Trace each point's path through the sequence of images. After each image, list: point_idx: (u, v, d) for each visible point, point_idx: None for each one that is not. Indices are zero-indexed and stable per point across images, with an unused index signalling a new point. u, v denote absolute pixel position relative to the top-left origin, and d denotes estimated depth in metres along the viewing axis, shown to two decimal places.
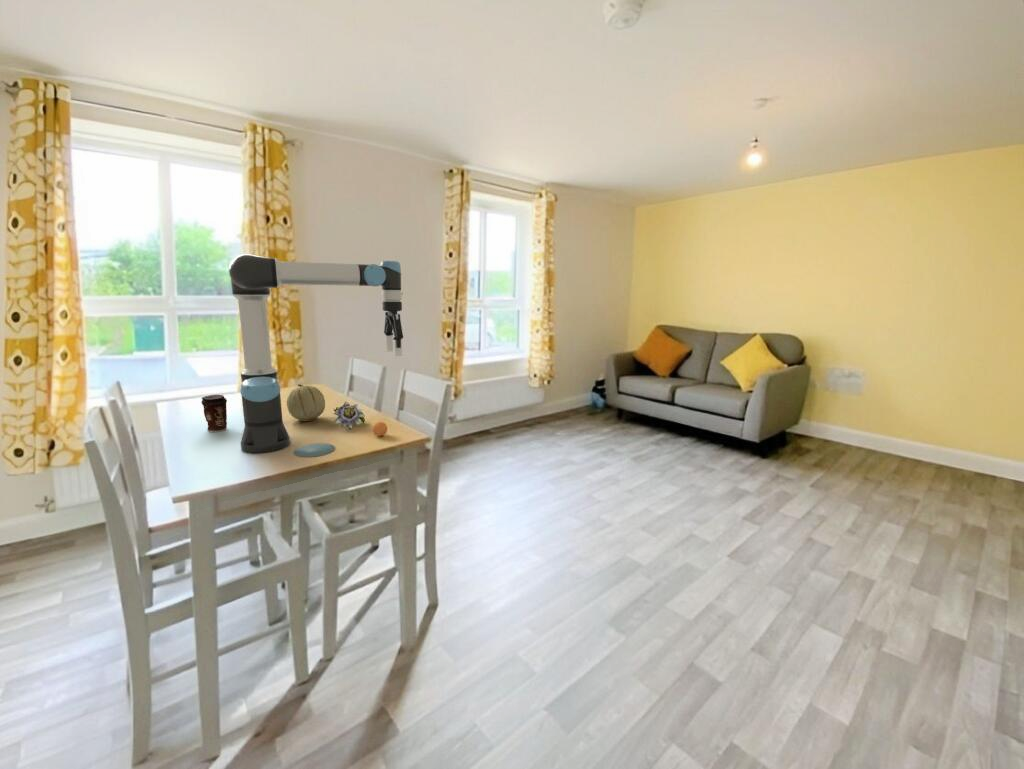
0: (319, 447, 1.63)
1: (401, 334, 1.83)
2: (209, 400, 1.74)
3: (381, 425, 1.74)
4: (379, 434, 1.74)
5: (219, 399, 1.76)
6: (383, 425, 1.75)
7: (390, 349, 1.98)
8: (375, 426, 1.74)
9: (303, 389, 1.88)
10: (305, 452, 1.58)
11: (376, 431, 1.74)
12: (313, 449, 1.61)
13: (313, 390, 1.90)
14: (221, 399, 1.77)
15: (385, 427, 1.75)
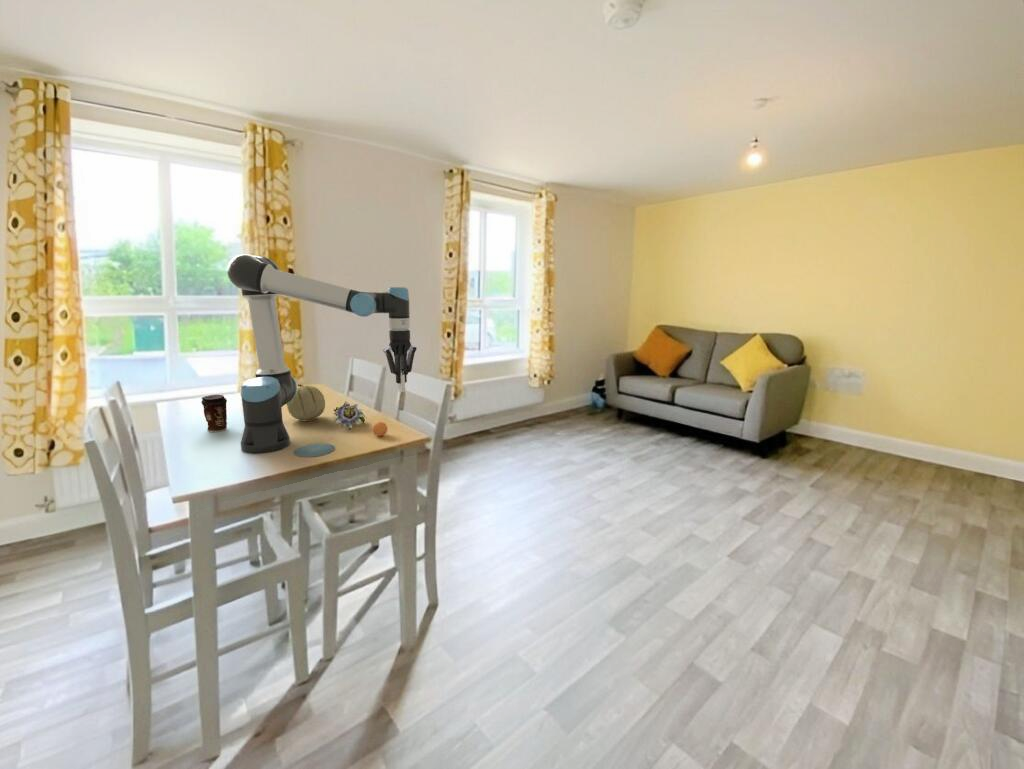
0: (319, 447, 1.63)
1: (392, 370, 1.75)
2: (209, 400, 1.74)
3: (381, 425, 1.74)
4: (379, 434, 1.74)
5: (219, 399, 1.76)
6: (383, 425, 1.75)
7: None
8: (375, 426, 1.74)
9: (303, 389, 1.88)
10: (305, 452, 1.58)
11: (376, 431, 1.74)
12: (313, 449, 1.61)
13: (313, 390, 1.90)
14: (221, 399, 1.77)
15: (385, 427, 1.75)
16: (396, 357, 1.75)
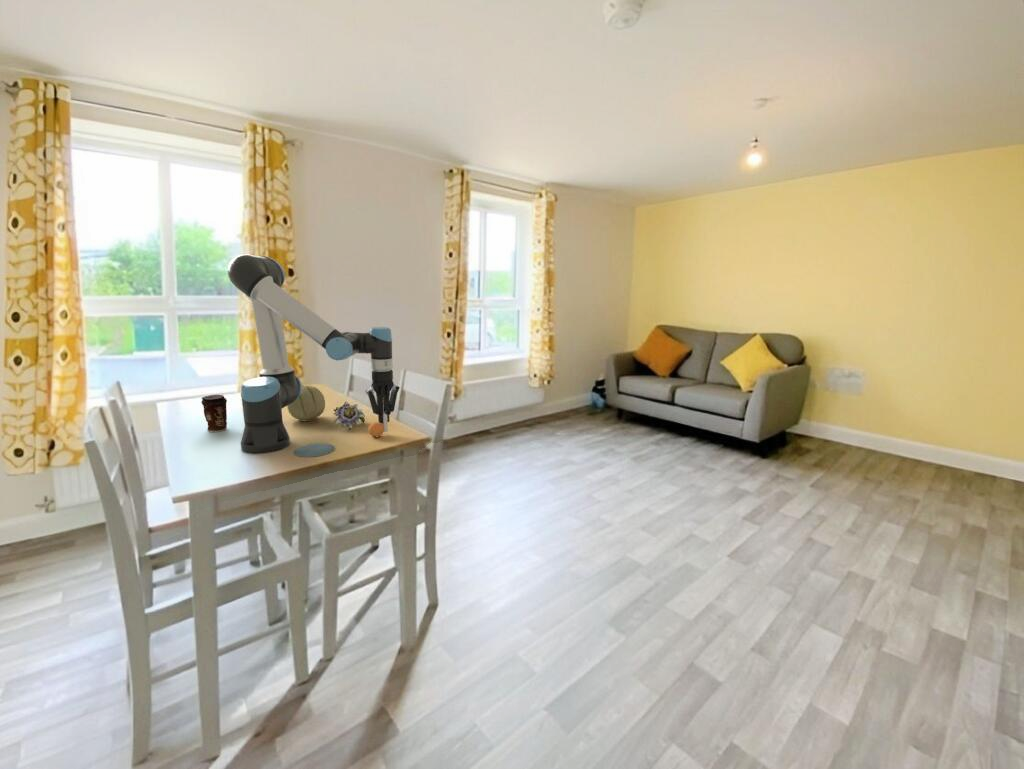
0: (319, 447, 1.63)
1: (375, 411, 1.73)
2: (209, 400, 1.74)
3: (376, 427, 1.73)
4: (377, 435, 1.74)
5: (219, 399, 1.76)
6: (378, 426, 1.73)
7: None
8: (370, 429, 1.73)
9: (303, 389, 1.88)
10: (305, 452, 1.58)
11: (372, 434, 1.73)
12: (313, 449, 1.61)
13: (313, 390, 1.90)
14: (221, 399, 1.77)
15: (381, 427, 1.74)
16: (378, 397, 1.74)
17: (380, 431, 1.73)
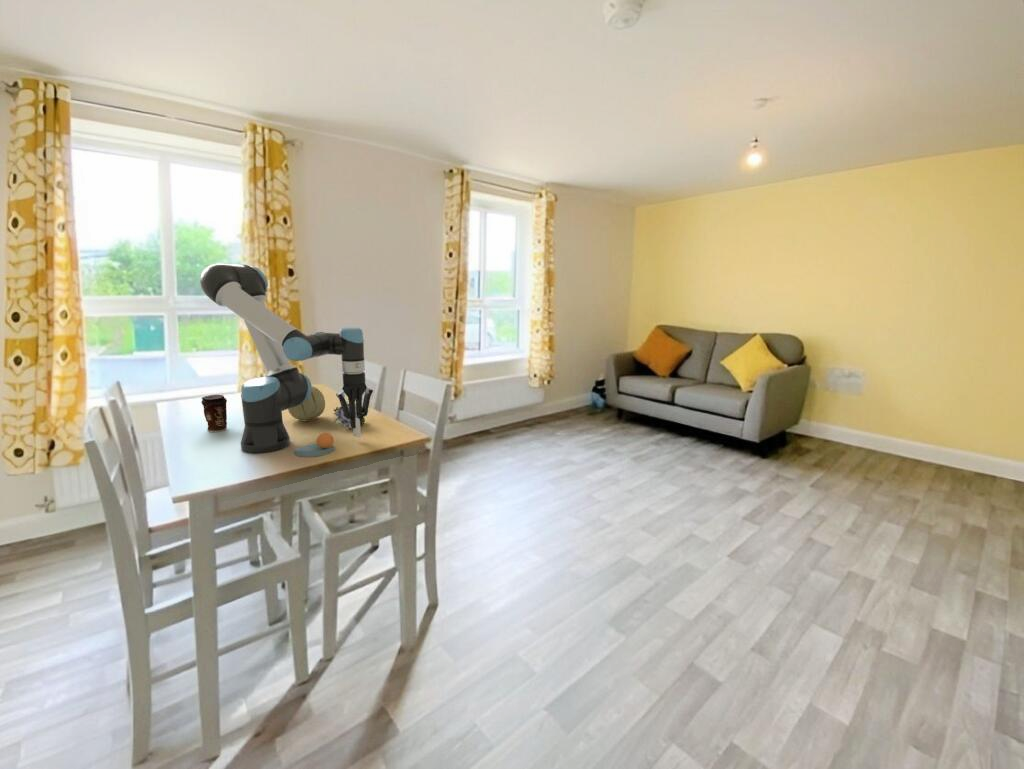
0: (319, 447, 1.63)
1: (346, 415, 1.66)
2: (209, 400, 1.74)
3: (324, 438, 1.60)
4: (325, 447, 1.61)
5: (219, 399, 1.76)
6: (327, 437, 1.61)
7: None
8: (318, 440, 1.60)
9: None
10: (305, 452, 1.58)
11: (320, 445, 1.60)
12: (313, 449, 1.61)
13: (313, 390, 1.90)
14: (221, 399, 1.77)
15: (329, 438, 1.61)
16: (350, 401, 1.66)
17: (329, 442, 1.61)
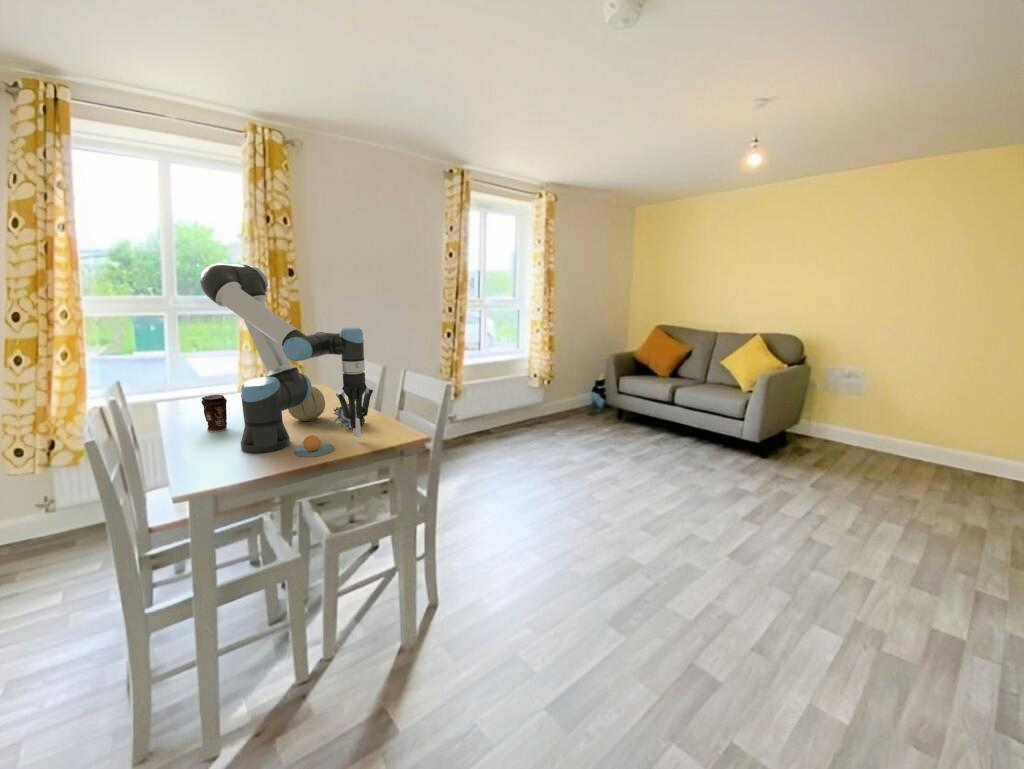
0: (319, 447, 1.63)
1: (346, 415, 1.66)
2: (209, 400, 1.74)
3: (309, 449, 1.57)
4: (319, 445, 1.59)
5: (219, 399, 1.76)
6: (308, 446, 1.57)
7: None
8: (311, 451, 1.59)
9: None
10: (305, 452, 1.58)
11: None
12: None
13: (313, 390, 1.90)
14: (221, 399, 1.77)
15: (310, 444, 1.57)
16: (350, 401, 1.66)
17: (314, 444, 1.57)
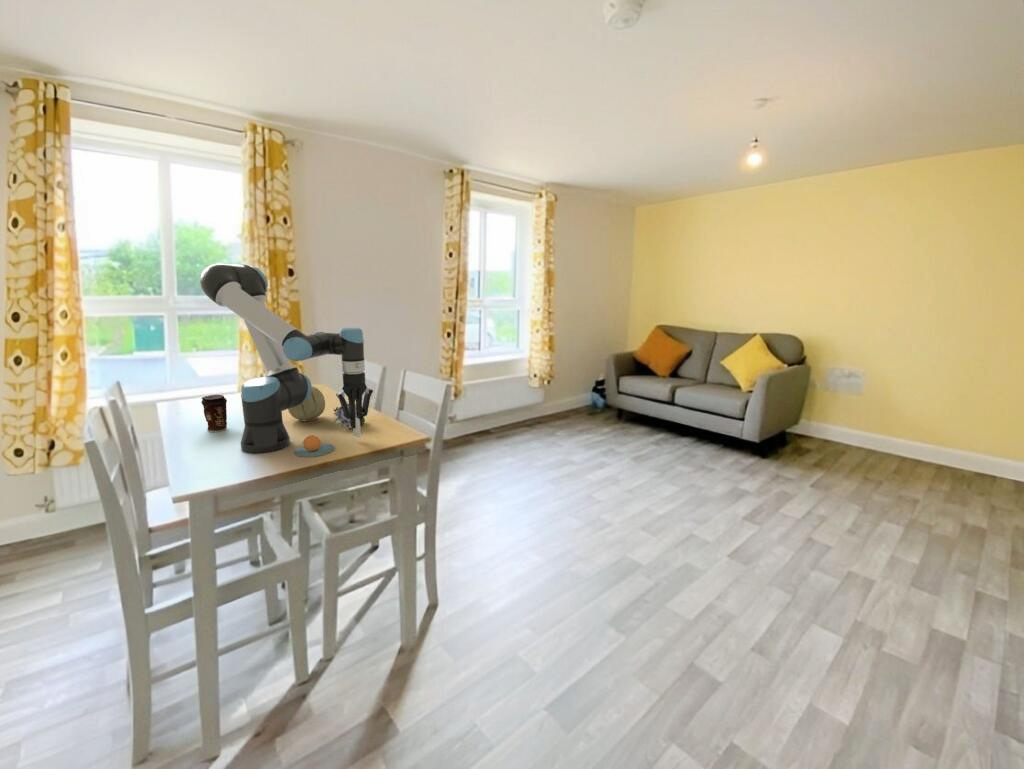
0: (319, 447, 1.63)
1: (346, 415, 1.66)
2: (209, 400, 1.74)
3: (309, 449, 1.57)
4: (319, 445, 1.59)
5: (219, 399, 1.76)
6: (308, 446, 1.57)
7: None
8: (311, 451, 1.59)
9: None
10: (305, 452, 1.58)
11: None
12: None
13: (313, 390, 1.90)
14: (221, 399, 1.77)
15: (310, 444, 1.57)
16: (350, 401, 1.66)
17: (314, 444, 1.57)
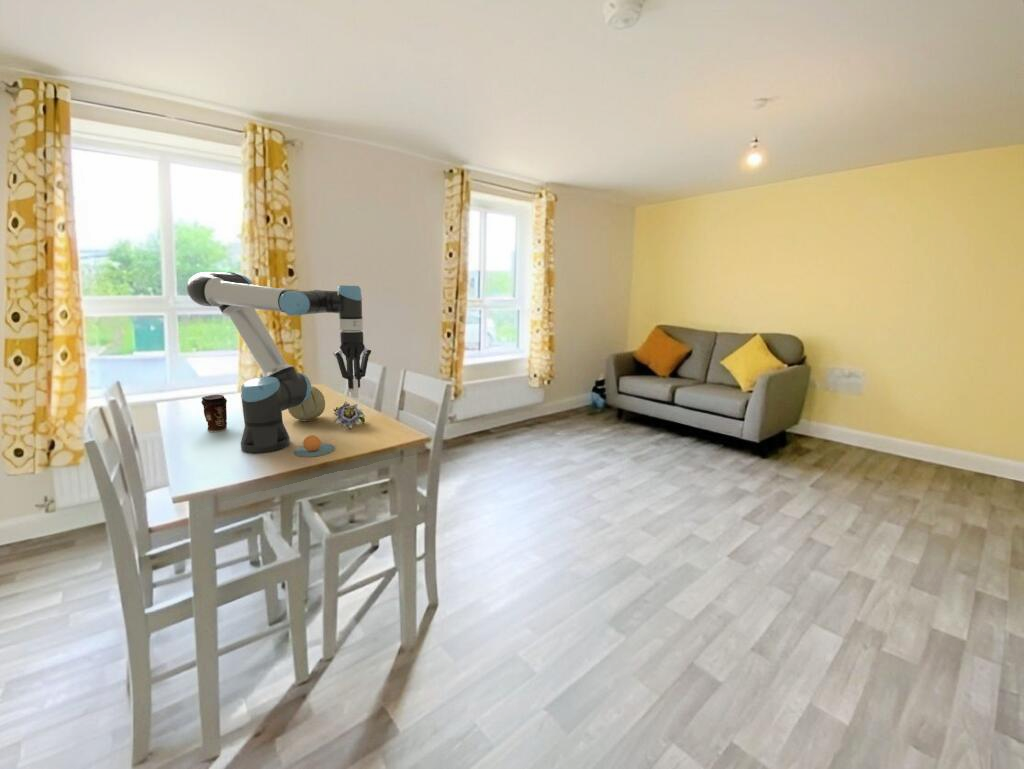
0: (319, 447, 1.63)
1: (344, 375, 1.63)
2: (209, 400, 1.74)
3: (309, 449, 1.57)
4: (319, 445, 1.59)
5: (219, 399, 1.76)
6: (308, 446, 1.57)
7: None
8: (311, 451, 1.59)
9: None
10: (305, 452, 1.58)
11: None
12: None
13: (313, 390, 1.90)
14: (221, 399, 1.77)
15: (310, 444, 1.57)
16: (348, 361, 1.63)
17: (314, 444, 1.57)
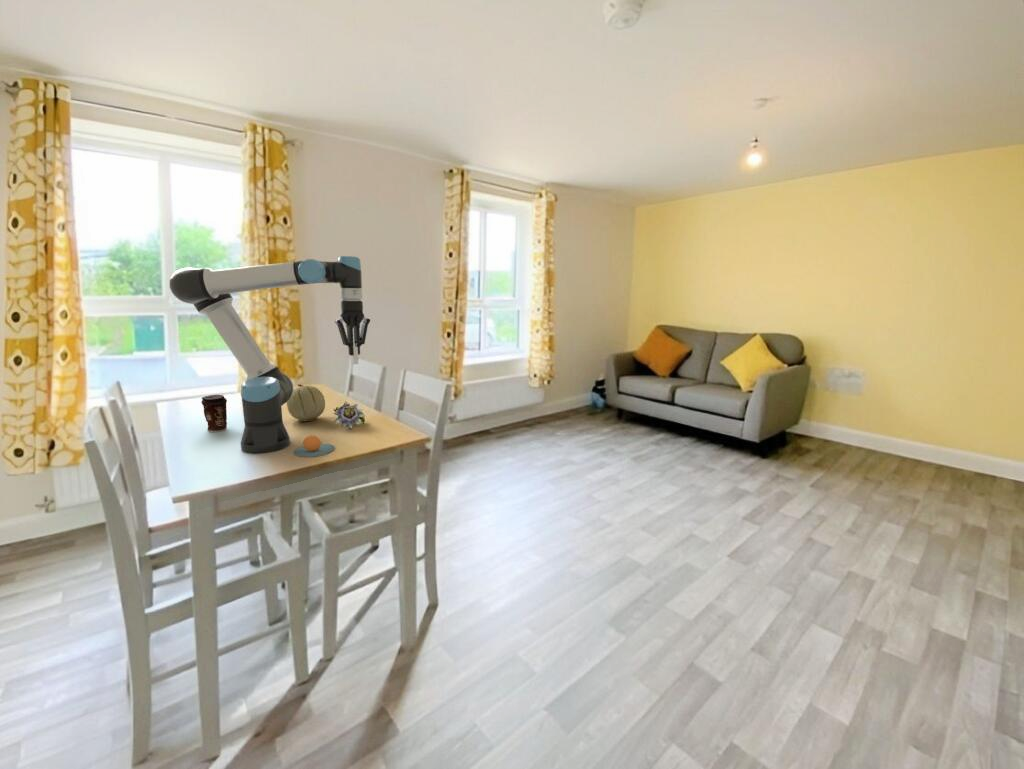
0: (319, 447, 1.63)
1: (344, 342, 1.72)
2: (209, 400, 1.74)
3: (309, 449, 1.57)
4: (319, 445, 1.59)
5: (219, 399, 1.76)
6: (308, 446, 1.57)
7: None
8: (311, 451, 1.59)
9: (303, 389, 1.88)
10: (305, 452, 1.58)
11: None
12: None
13: (313, 390, 1.90)
14: (221, 399, 1.77)
15: (310, 444, 1.57)
16: (348, 328, 1.73)
17: (314, 444, 1.57)
